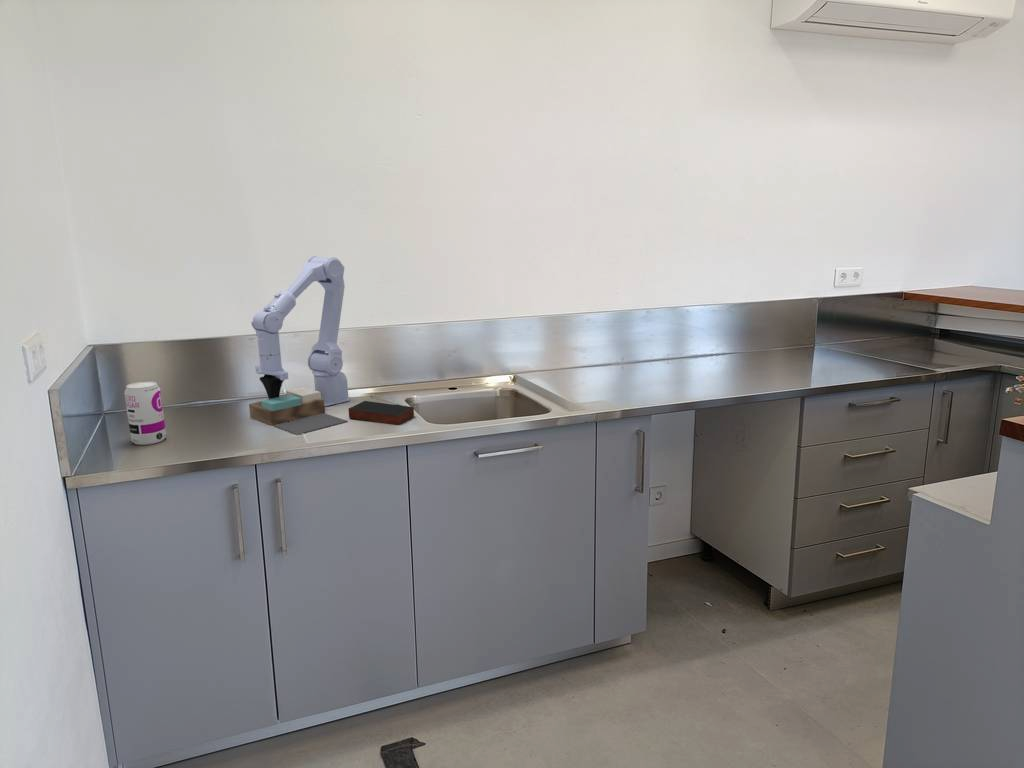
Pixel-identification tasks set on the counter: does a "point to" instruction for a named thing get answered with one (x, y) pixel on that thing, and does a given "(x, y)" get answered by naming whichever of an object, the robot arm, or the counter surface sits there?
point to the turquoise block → (281, 402)
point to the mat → (310, 423)
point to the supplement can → (145, 413)
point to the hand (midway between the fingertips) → (274, 400)
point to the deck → (286, 412)
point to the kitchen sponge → (381, 412)
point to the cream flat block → (305, 394)
